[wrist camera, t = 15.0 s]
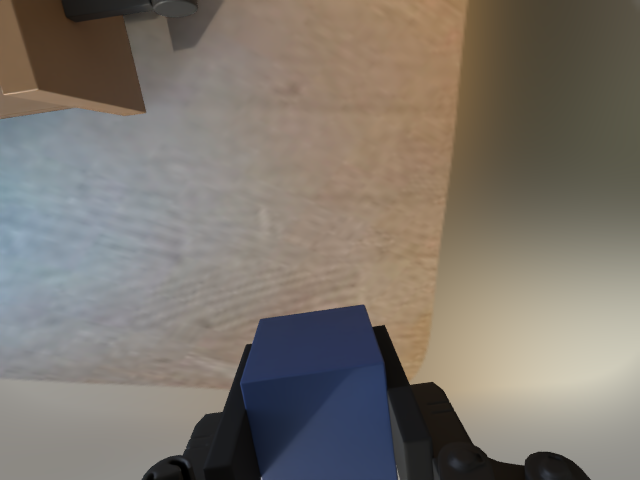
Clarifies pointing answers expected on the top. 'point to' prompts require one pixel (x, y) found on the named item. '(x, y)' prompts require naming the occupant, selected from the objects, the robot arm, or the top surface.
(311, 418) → the block
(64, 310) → the top surface
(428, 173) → the top surface
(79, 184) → the top surface
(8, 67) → the drawer
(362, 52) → the top surface
